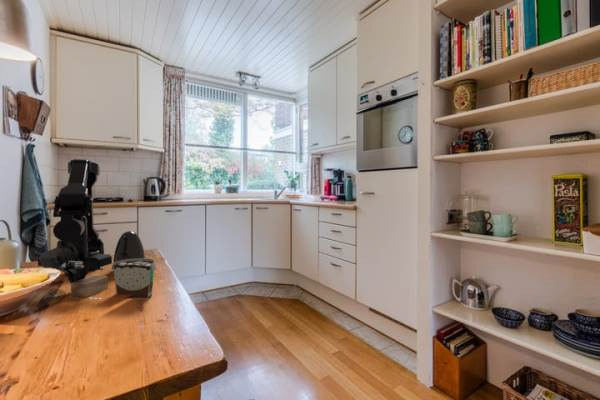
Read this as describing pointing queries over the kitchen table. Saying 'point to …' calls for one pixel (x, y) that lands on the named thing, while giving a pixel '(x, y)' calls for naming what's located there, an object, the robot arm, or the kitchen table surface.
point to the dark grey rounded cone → (129, 247)
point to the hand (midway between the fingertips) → (76, 289)
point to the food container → (134, 277)
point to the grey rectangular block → (89, 286)
